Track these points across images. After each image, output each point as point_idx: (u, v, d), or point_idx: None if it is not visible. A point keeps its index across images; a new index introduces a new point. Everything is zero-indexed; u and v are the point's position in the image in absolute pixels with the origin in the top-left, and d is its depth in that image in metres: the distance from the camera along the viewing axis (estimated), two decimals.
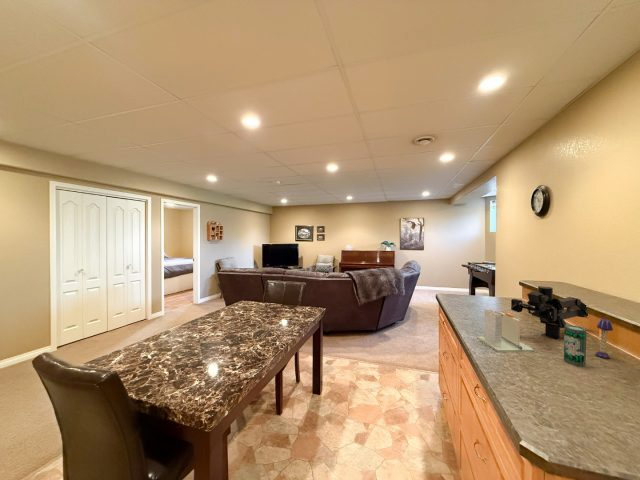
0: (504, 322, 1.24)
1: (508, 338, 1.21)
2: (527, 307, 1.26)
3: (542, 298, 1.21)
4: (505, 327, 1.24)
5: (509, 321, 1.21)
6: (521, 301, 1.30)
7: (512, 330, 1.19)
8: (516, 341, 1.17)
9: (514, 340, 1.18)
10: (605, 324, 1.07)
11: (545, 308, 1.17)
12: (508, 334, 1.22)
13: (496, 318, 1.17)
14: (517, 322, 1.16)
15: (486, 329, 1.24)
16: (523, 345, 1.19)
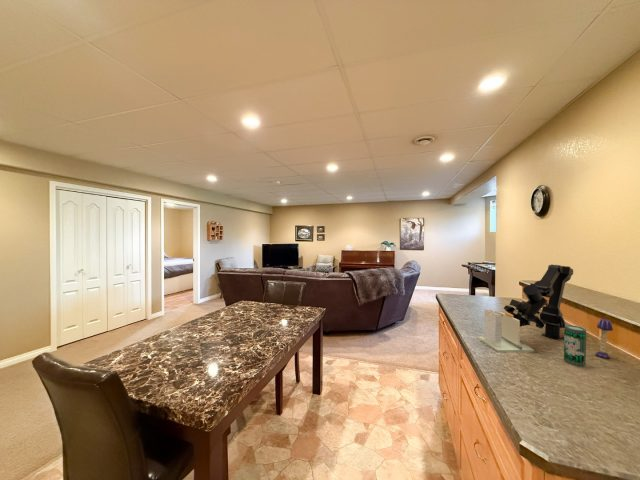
0: (504, 322, 1.24)
1: (508, 338, 1.21)
2: None
3: (521, 307, 1.18)
4: (505, 327, 1.24)
5: (509, 321, 1.21)
6: (511, 308, 1.27)
7: (512, 330, 1.19)
8: (516, 341, 1.17)
9: (514, 340, 1.18)
10: (605, 324, 1.07)
11: (519, 317, 1.19)
12: (508, 334, 1.22)
13: (496, 318, 1.17)
14: (517, 322, 1.16)
15: (486, 329, 1.24)
16: (523, 345, 1.19)
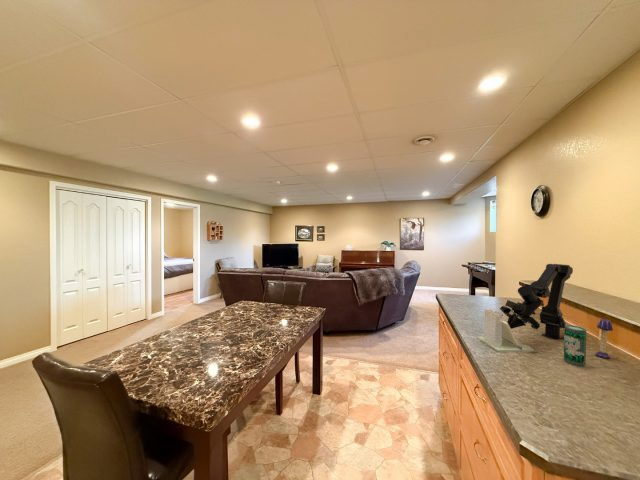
0: None
1: (507, 339, 1.21)
2: (513, 315, 1.23)
3: (517, 308, 1.18)
4: None
5: None
6: (507, 308, 1.27)
7: (506, 332, 1.19)
8: (514, 342, 1.17)
9: (512, 341, 1.18)
10: (605, 324, 1.07)
11: (515, 318, 1.19)
12: (505, 335, 1.22)
13: (496, 318, 1.17)
14: (506, 325, 1.16)
15: (486, 329, 1.24)
16: (523, 345, 1.19)
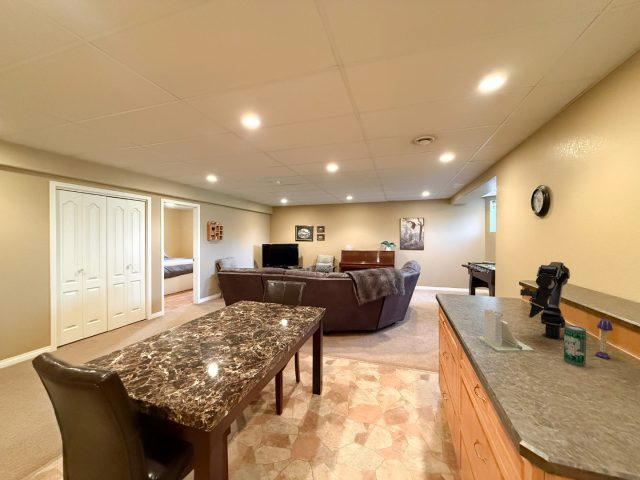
0: None
1: (507, 339, 1.21)
2: None
3: (525, 293, 1.24)
4: None
5: None
6: (532, 298, 1.29)
7: (506, 332, 1.19)
8: (514, 342, 1.17)
9: (512, 341, 1.18)
10: (605, 324, 1.07)
11: (530, 303, 1.23)
12: (505, 335, 1.22)
13: (496, 318, 1.17)
14: (506, 325, 1.16)
15: (486, 329, 1.24)
16: (523, 345, 1.19)
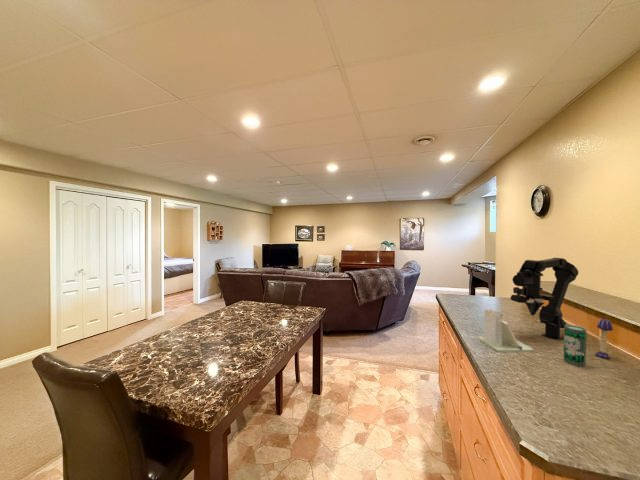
0: None
1: (507, 339, 1.21)
2: None
3: None
4: None
5: None
6: None
7: (506, 332, 1.19)
8: (514, 342, 1.17)
9: (512, 341, 1.18)
10: (605, 324, 1.07)
11: None
12: (505, 335, 1.22)
13: (496, 318, 1.17)
14: (506, 325, 1.16)
15: (486, 329, 1.24)
16: (523, 345, 1.19)
